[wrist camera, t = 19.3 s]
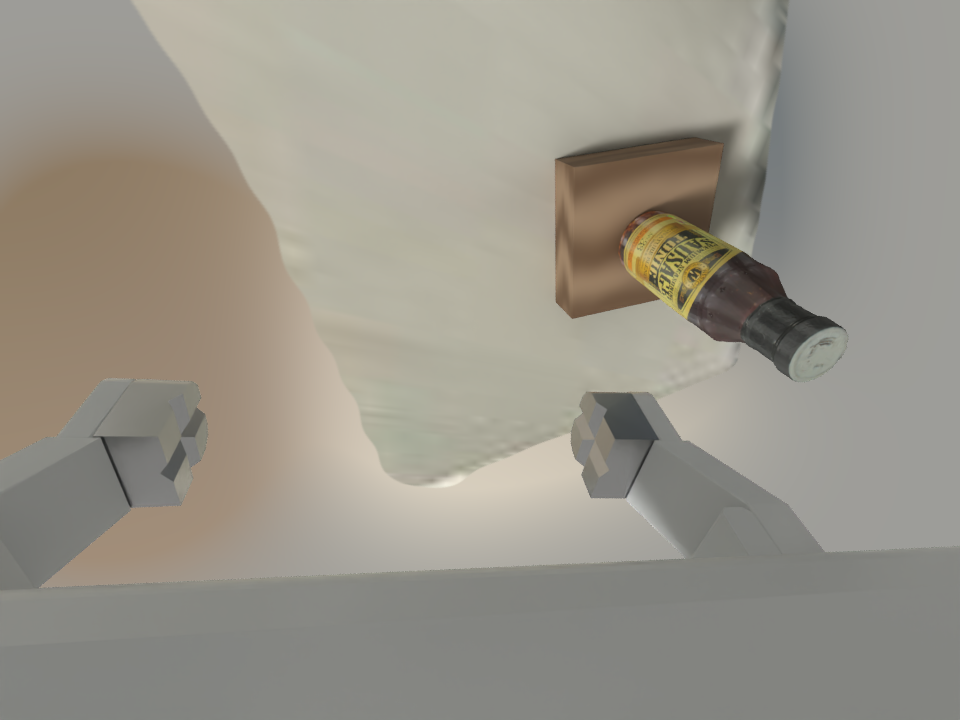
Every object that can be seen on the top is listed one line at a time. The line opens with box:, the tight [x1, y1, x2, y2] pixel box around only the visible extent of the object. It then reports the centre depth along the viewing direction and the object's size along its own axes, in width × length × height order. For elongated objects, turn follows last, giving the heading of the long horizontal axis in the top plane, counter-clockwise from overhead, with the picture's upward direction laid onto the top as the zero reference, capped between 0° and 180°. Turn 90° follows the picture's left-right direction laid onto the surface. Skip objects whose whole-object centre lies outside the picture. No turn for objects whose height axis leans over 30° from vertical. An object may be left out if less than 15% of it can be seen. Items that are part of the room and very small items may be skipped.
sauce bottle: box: [618, 211, 848, 382], centre depth 37 cm, size 7×6×20 cm
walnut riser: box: [555, 137, 724, 319], centre depth 46 cm, size 14×14×4 cm
